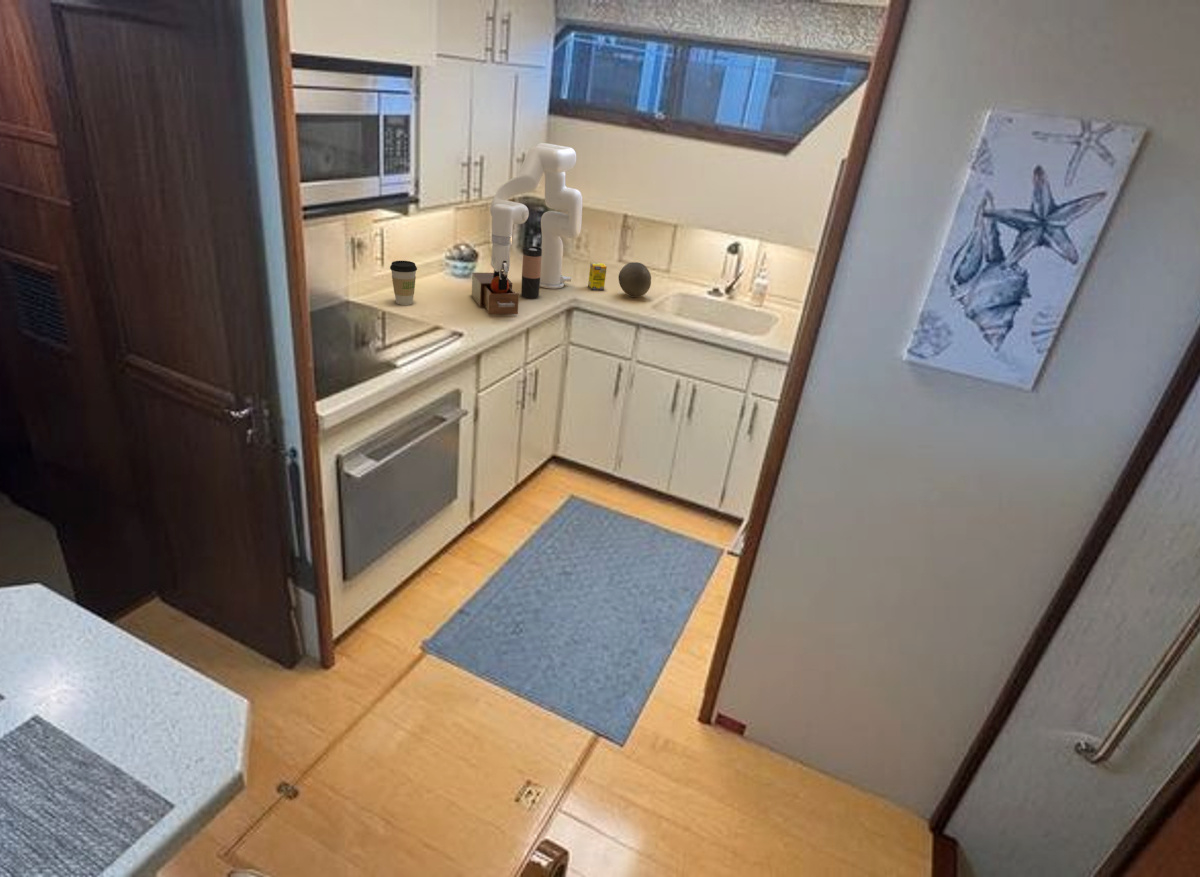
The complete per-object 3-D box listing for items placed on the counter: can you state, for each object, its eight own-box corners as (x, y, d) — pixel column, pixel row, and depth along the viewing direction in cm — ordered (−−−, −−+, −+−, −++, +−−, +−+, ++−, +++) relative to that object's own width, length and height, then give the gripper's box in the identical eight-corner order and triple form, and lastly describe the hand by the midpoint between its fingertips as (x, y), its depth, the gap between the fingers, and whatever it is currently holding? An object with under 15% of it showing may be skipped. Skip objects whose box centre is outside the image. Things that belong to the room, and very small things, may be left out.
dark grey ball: (628, 290, 314) (632, 257, 306) (654, 298, 307) (659, 264, 300) (610, 295, 303) (614, 261, 296) (637, 304, 296) (642, 269, 289)
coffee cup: (418, 306, 262) (417, 267, 255) (391, 306, 259) (390, 266, 252) (416, 298, 270) (416, 260, 263) (390, 298, 267) (389, 259, 260)
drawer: (521, 318, 261) (522, 297, 257) (491, 318, 257) (492, 298, 253) (508, 302, 275) (509, 283, 272) (480, 303, 271) (480, 283, 267)
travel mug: (535, 300, 285) (539, 251, 276) (518, 297, 286) (520, 248, 277) (541, 295, 292) (544, 247, 283) (523, 292, 293) (526, 245, 284)
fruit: (512, 294, 267) (513, 273, 263) (502, 298, 261) (503, 277, 257) (496, 290, 269) (497, 270, 265) (486, 294, 263) (487, 273, 260)
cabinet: (511, 306, 274) (512, 283, 270) (480, 307, 269) (480, 283, 265) (501, 295, 286) (502, 272, 281) (471, 295, 281) (472, 272, 277)
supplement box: (591, 290, 307) (594, 266, 302) (587, 286, 312) (590, 262, 306) (604, 290, 309) (607, 266, 303) (600, 286, 313) (602, 262, 308)
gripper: (486, 233, 261) (484, 280, 269) (497, 245, 247) (496, 293, 255) (505, 234, 264) (503, 279, 272) (518, 245, 250) (515, 293, 258)
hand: (500, 286), depth 264 cm, fingers closed on fruit, 7 cm apart
